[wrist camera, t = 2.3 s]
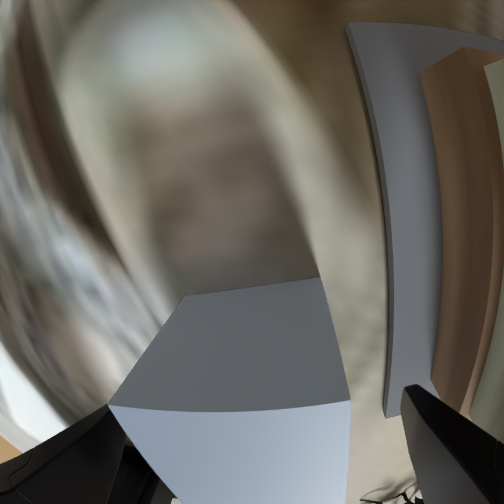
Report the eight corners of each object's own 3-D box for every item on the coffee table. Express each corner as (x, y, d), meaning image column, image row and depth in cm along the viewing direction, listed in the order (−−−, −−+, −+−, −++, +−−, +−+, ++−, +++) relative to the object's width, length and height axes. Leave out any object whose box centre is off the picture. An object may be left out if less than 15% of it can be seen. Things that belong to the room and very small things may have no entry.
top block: (218, 392, 12) (183, 504, 7) (185, 295, 11) (107, 404, 5) (330, 382, 11) (344, 504, 6) (320, 276, 10) (350, 400, 4)
